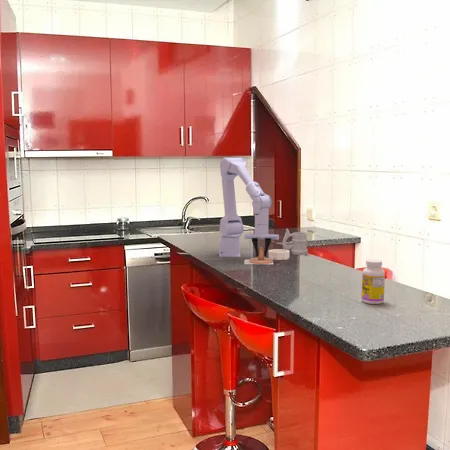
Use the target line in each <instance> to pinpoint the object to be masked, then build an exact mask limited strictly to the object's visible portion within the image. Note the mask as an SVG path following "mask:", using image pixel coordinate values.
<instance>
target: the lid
mask: <svg viewBox="0 0 450 450" xmlns="http://www.w3.org/2000/svg"><path fill="white" fill-rule="evenodd" d="M249 260H250V262H251V263H254V264H253V265H271V264H270V263H272V262H273V263H274V261H273V259H270V258H269V257H265V246H264V247H262V246H260V247H259V246H258V257H252V258H249Z"/></svg>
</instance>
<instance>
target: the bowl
mask: <svg viewBox="0 0 450 450" xmlns="http://www.w3.org/2000/svg"><path fill="white" fill-rule="evenodd" d="M290 253H291V251H290V249H289V250H284V249H282V248H281V249H279V248H276V249H275V248H274V249H268V258H270V259H272V260H274V261H285V260H286V261H287V260H289V259H290Z"/></svg>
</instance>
